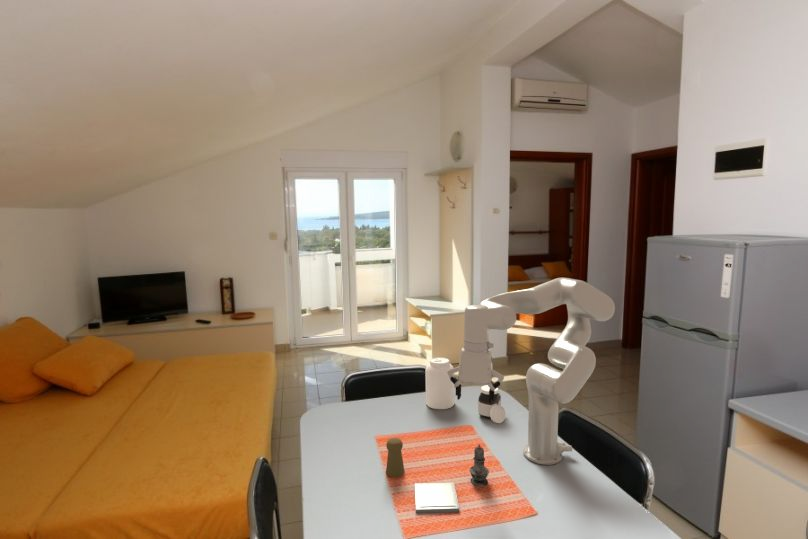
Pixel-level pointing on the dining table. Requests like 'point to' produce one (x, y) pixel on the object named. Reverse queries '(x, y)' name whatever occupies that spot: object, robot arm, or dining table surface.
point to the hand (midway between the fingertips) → (474, 399)
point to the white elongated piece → (439, 384)
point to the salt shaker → (479, 468)
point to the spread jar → (490, 405)
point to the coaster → (436, 498)
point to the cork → (394, 458)
